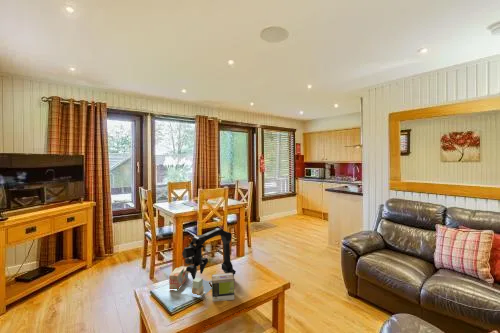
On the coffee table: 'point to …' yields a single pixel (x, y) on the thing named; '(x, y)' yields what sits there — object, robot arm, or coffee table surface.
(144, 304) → the coffee table surface
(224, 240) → the robot arm
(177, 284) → the printed cardboard box
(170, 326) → the coffee table surface
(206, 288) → the grey flat sheet
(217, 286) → the tea box
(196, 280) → the sage cube
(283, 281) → the coffee table surface
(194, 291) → the maple block
